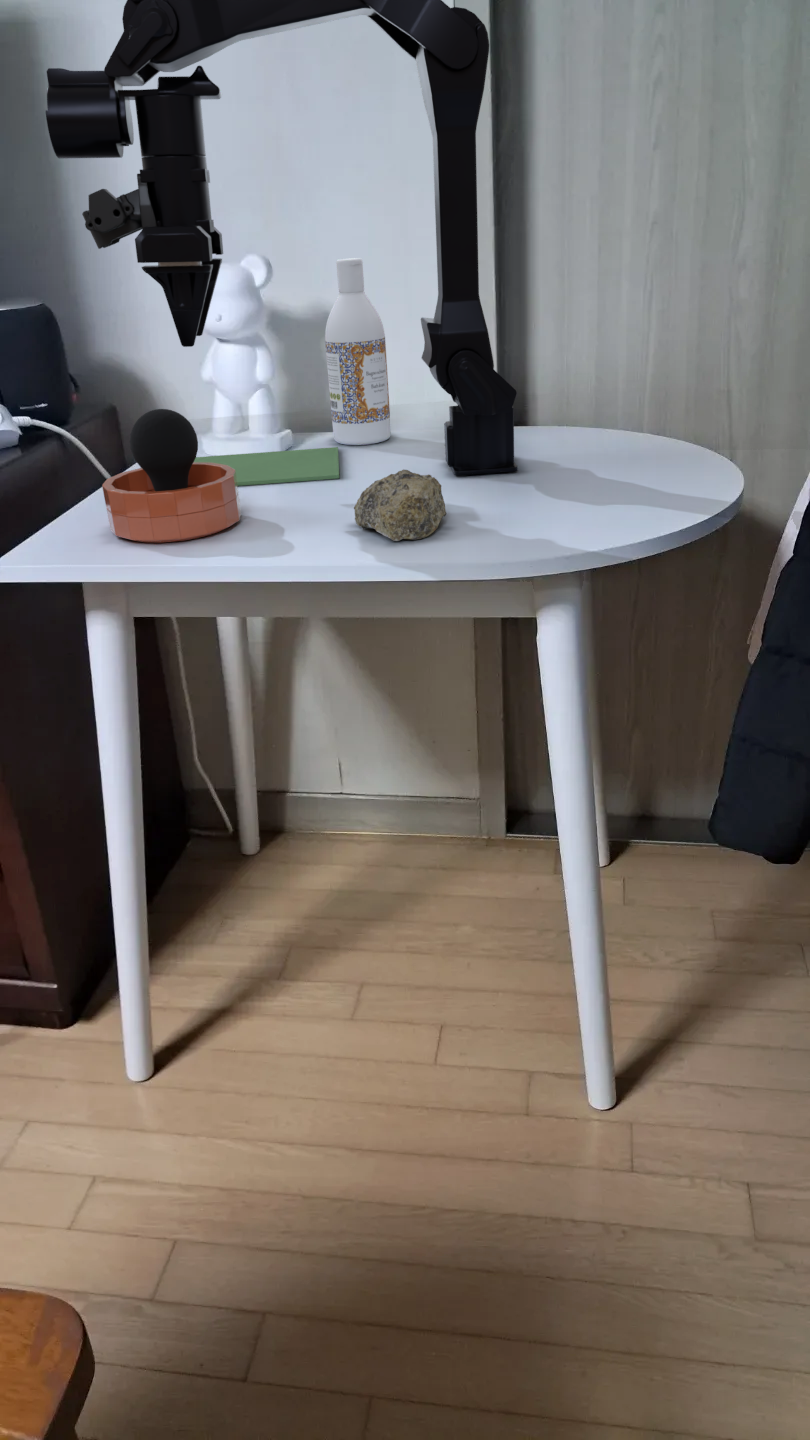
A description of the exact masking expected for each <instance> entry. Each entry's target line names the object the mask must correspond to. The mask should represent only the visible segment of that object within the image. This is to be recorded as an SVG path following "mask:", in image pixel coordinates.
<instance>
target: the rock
mask: <svg viewBox="0 0 810 1440" xmlns="http://www.w3.org/2000/svg"><path fill="white" fill-rule="evenodd" d="M353 510H354V522H355V523H356V525H357V526H358V527H359V528H360V527H361V528H362V529H374V530H375V531H376V532H377V533H379V534H381V535H382V536H384V537H386V538H389V539H390V540H392V542H393V541H394V542H399V541H401V540H411V541H416V540H421V539H424V538H427V537H429V536H431V535H432V534H433V533H434V532H435V531H436V530H437V529H438V528H439V526H440V523H441V521H442V519H443V517H445V516H446V515H447V510H446V504H445V500H444V496H443V492H442V484H440V481H439V480H438V479H437V478H436V477H435V476H432V475H431V474H420V473H416V472H412V471H410V470H408V469H401V470H399V471H398V472H395V473H391V474H388V475H387V476H385V477H382V478H381V479H377V480H374V482H372V483H371V484H370V485H369V486H368V487H366V488H365V489H364V490H363V491H361V494H360V496H359V498H358V499H357V501H356V503H355V505H354V507H353Z"/></svg>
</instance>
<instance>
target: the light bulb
mask: <svg viewBox="0 0 810 1440" xmlns="http://www.w3.org/2000/svg"><path fill="white" fill-rule="evenodd" d="M197 435H198V434H197V433H196V431H195V428H194V426H193V425H192V423H191V422H190V421H189V420H188V419H187V418H186V417H185V416H184V415H183V414H181V413H179V412H178V411H175V410H173V409H172V410H171V409H169V408H155V409H152V410H149V411H147V412H145V413H143V414H142V415H141V416H140V417H138V418H137V420H135V422H134V425H133V426H132V428H131V430H130V434H129V447H130V451H131V454H132V457H133V459H134V461H135V462H136V463H137V465H138V466H139V468H142V469H143V470H144V471H145V472H146V473H147V475H148V476H149V478H150V480H151V482H152V485H153V487H154V490H155V491H169V490H178V489H184V488H188V476H189V471H190V468H191V466H192V464H193V462H194V460H195V458H196V457H197V455H198V450H199V440H198V436H197Z"/></svg>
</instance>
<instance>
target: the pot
mask: <svg viewBox="0 0 810 1440" xmlns="http://www.w3.org/2000/svg"><path fill="white" fill-rule="evenodd" d="M101 485H102V486H101V487H102V492H103V499H104V504H105V508H106V514H107V519H108V524H109V525H108V526H109V530H110V531H111V532H112V533H113V534H114V535H115V537H119V538H123V539H126V540H130V541H133V542H140V543H154V544H156V543H159V544H160V543H173V542H176V543H177V542H183V541H190V540H194V539H195V540H196V539H199V538H204V537H209V536H211V535H214V534H217V533H219V532H222V531H224V530H226V529H227V528H229V527H232V526H233V525H234V524H236V523H238V522H239V521H240V519H241V515H242V510H241V503H240V502H241V501H240V494H239V488H238V487H239V486H237V478H236V471H235V469H233V468H231V467H229V466H228V465H223V464H217V463H207V462H193V464H192V466H191V468H190V471H189V476H188V488H184V489H178V490H169V491H155V490H154V487H153V485H152V482H151V480H150V478H149V476H148V475H147V473H146V472H145V471H144V470H143V469H142V468H141V467H139V468H134V469H131V470H128V471H123V472H120V473H118V474H115V475H113V476H111V477H109V478H107V479H106V480H105V481H104V482H103V483H102V484H101Z"/></svg>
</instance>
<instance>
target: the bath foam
mask: <svg viewBox="0 0 810 1440" xmlns="http://www.w3.org/2000/svg"><path fill="white" fill-rule="evenodd" d="M335 263H336V275H337V289H338V296H337V298H336V300H335V301H334V303H333V305H332V308H331V309H330V312H329V315H328V317H327V320H326V324H325V330H324V331H325V332H324V344H325V356H326V367H327V379H328V391H329V400H330V413H331V422H332V423H331V424H332V434H333V435H332V436H333V440H334V441H335V442H336V443H338V444H341V445H347V446H364V445H366V446H367V445H374V444H378V443H382V442H386V441H387V440H388V439H389V438H390V437H391V435H392V429H391V427H392V426H391V410H390V397H389V396H390V395H389V378H388V377H389V376H388V362H387V346H386V345H387V344H386V334H385V328H384V324H383V322H382V319H381V316H380V315H379V312H378V311H377V309H376V308H375V306H374V305H373V303H372V302H371V300H370V299H369V297H368V296H367V294H366V293H365V279H364V278H365V277H364V265H363V263H364V262H363V258H362V257H350V258H338V259H337V260H336V262H335Z"/></svg>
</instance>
